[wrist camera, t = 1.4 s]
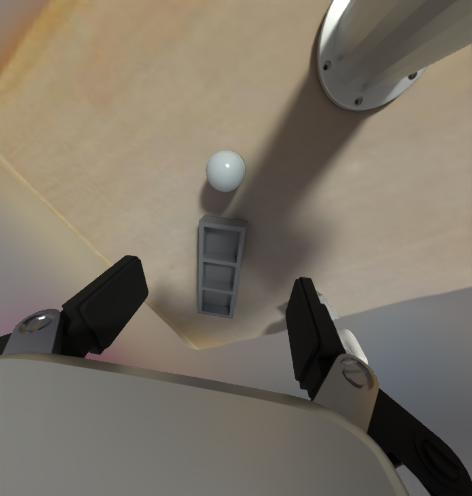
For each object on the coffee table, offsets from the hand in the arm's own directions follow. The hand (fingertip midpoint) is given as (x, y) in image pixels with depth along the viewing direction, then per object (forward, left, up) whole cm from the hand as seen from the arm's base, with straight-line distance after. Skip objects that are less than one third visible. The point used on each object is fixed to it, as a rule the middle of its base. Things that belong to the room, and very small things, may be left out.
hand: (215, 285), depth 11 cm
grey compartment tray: (+14, -3, -22) cm, 26 cm away
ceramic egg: (-5, -3, -22) cm, 22 cm away
